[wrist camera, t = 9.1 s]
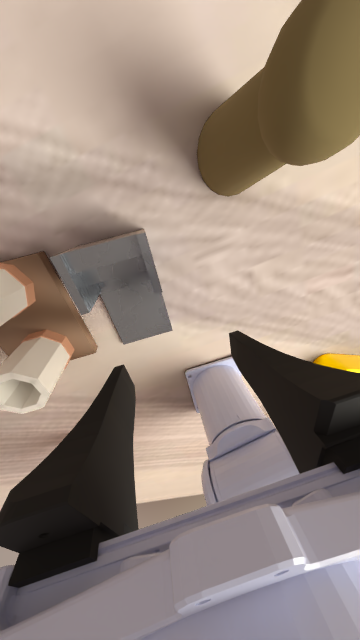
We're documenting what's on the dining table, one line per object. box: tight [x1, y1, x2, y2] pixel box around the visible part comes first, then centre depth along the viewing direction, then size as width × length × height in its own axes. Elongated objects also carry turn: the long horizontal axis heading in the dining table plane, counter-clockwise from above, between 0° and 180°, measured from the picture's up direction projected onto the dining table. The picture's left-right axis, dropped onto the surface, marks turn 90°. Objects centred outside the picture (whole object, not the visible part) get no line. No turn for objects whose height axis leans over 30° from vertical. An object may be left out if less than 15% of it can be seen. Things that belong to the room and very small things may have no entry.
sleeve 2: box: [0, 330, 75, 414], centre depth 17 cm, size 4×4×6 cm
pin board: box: [0, 251, 98, 360], centre depth 17 cm, size 11×8×4 cm
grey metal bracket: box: [50, 229, 172, 344], centre depth 17 cm, size 11×6×6 cm, turn 13°
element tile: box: [313, 353, 360, 373], centre depth 33 cm, size 15×15×5 cm
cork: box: [197, 0, 360, 196], centre depth 11 cm, size 6×6×11 cm
